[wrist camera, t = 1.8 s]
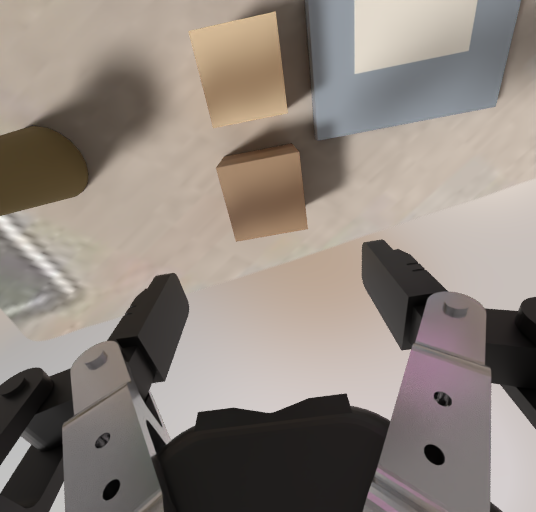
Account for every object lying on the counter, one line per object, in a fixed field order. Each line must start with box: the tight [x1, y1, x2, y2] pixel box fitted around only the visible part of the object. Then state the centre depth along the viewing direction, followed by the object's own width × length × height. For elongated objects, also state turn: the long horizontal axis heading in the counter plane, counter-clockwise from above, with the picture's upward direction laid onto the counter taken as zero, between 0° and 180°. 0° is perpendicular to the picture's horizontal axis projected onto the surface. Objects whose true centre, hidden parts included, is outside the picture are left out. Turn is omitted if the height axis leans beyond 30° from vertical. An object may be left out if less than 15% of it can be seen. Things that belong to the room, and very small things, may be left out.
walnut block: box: [216, 143, 308, 242], centre depth 22 cm, size 6×6×5 cm
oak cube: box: [189, 11, 288, 128], centre depth 18 cm, size 5×5×5 cm
